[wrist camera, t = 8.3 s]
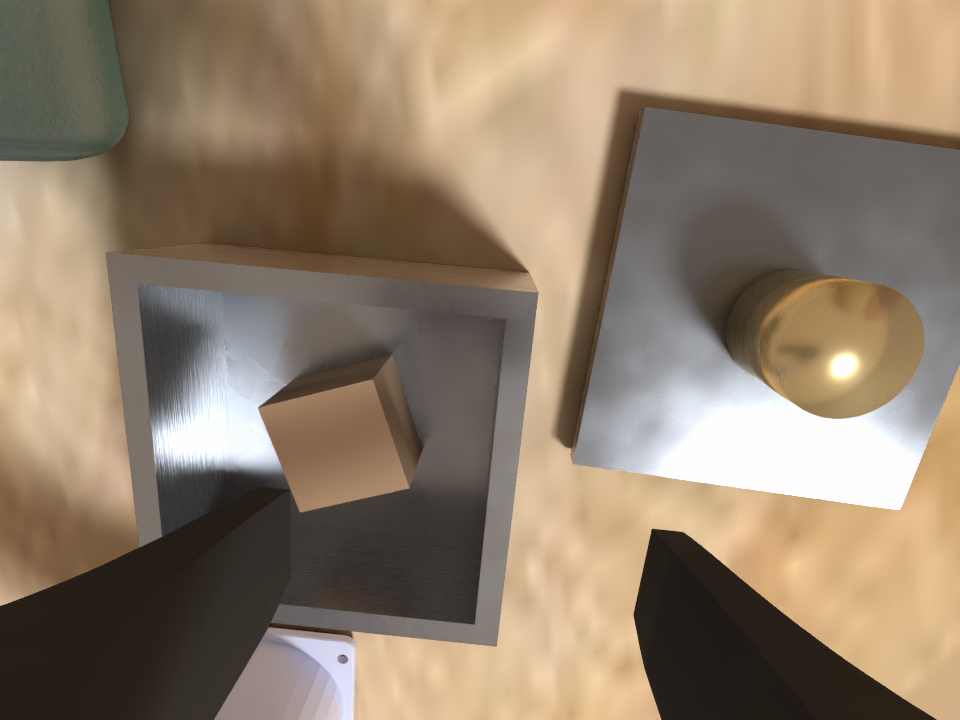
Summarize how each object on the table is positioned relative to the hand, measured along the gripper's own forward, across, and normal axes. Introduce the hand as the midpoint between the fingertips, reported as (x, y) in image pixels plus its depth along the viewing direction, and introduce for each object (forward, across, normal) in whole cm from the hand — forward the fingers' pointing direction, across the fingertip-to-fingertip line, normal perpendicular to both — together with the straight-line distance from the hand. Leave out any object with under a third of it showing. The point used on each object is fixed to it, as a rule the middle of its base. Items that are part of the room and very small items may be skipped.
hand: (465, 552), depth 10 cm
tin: (+10, +5, +2) cm, 11 cm away
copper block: (+10, +5, +2) cm, 11 cm away
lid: (+11, -10, -4) cm, 15 cm away
